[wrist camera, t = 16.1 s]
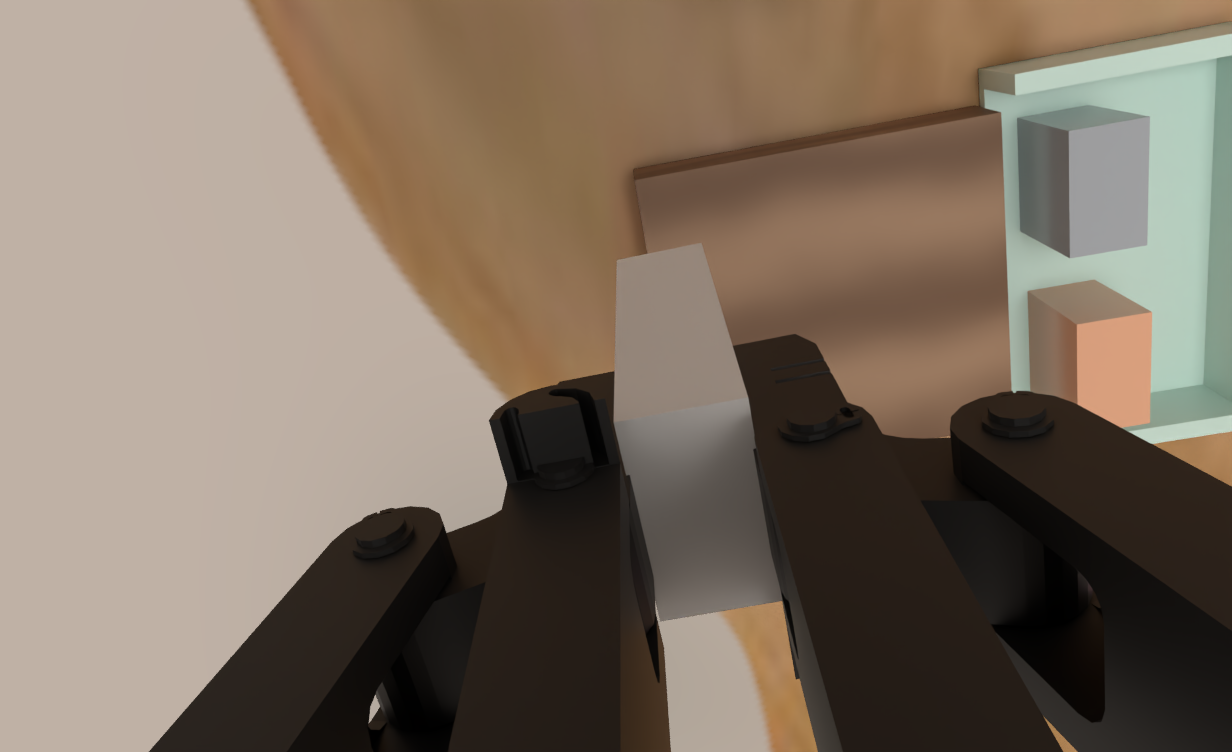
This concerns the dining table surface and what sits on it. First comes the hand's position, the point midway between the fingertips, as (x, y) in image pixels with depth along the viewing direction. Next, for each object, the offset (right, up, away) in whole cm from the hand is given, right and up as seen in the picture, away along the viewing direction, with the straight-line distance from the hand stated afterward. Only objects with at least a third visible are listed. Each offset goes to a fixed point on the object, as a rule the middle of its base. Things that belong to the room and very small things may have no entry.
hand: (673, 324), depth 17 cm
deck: (+8, +3, +27) cm, 28 cm away
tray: (+21, +5, +26) cm, 34 cm away
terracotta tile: (+18, 0, +25) cm, 31 cm away
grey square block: (+17, +7, +22) cm, 28 cm away
